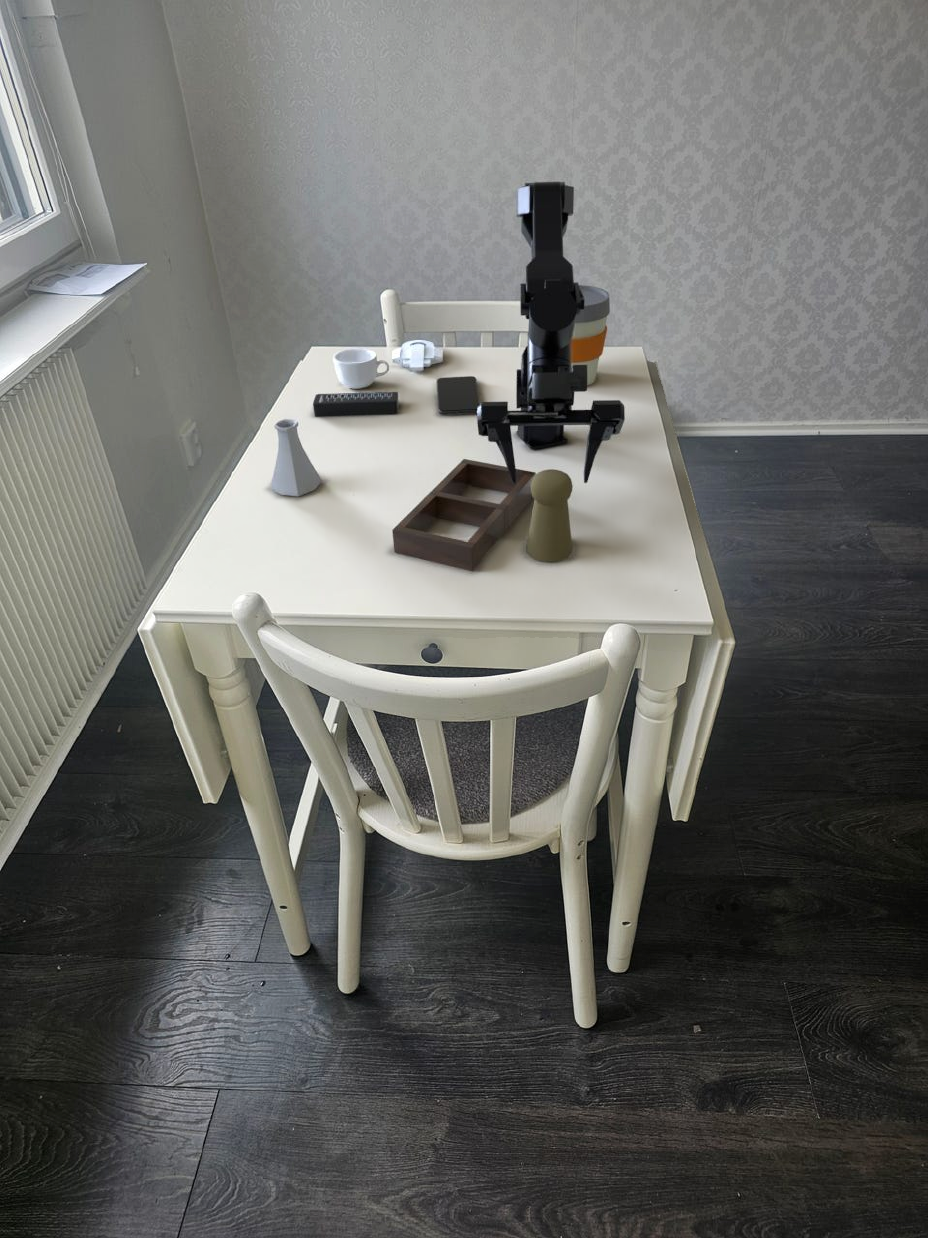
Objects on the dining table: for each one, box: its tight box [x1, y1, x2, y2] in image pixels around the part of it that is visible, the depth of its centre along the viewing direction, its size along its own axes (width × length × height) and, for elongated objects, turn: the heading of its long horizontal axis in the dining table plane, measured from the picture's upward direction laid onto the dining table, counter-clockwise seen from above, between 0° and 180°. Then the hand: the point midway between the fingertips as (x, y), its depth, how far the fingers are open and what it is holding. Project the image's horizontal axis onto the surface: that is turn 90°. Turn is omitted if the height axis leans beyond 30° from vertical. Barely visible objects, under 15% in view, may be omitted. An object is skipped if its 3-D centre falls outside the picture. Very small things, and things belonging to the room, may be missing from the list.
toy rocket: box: [391, 339, 444, 372], centre depth 167 cm, size 16×10×2 cm, turn 1°
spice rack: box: [391, 458, 537, 572], centre depth 117 cm, size 22×11×4 cm, turn 155°
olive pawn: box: [525, 468, 574, 564], centre depth 108 cm, size 6×6×11 cm
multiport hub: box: [312, 391, 400, 417], centre depth 148 cm, size 4×14×2 cm, turn 90°
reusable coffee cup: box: [571, 284, 611, 387], centre depth 153 cm, size 12×13×15 cm
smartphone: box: [436, 375, 481, 416], centre depth 152 cm, size 7×1×15 cm
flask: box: [270, 418, 322, 497], centre depth 125 cm, size 7×7×10 cm
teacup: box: [333, 348, 390, 390], centre depth 157 cm, size 10×8×5 cm
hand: (549, 482), depth 110 cm, fingers open, 9 cm apart
